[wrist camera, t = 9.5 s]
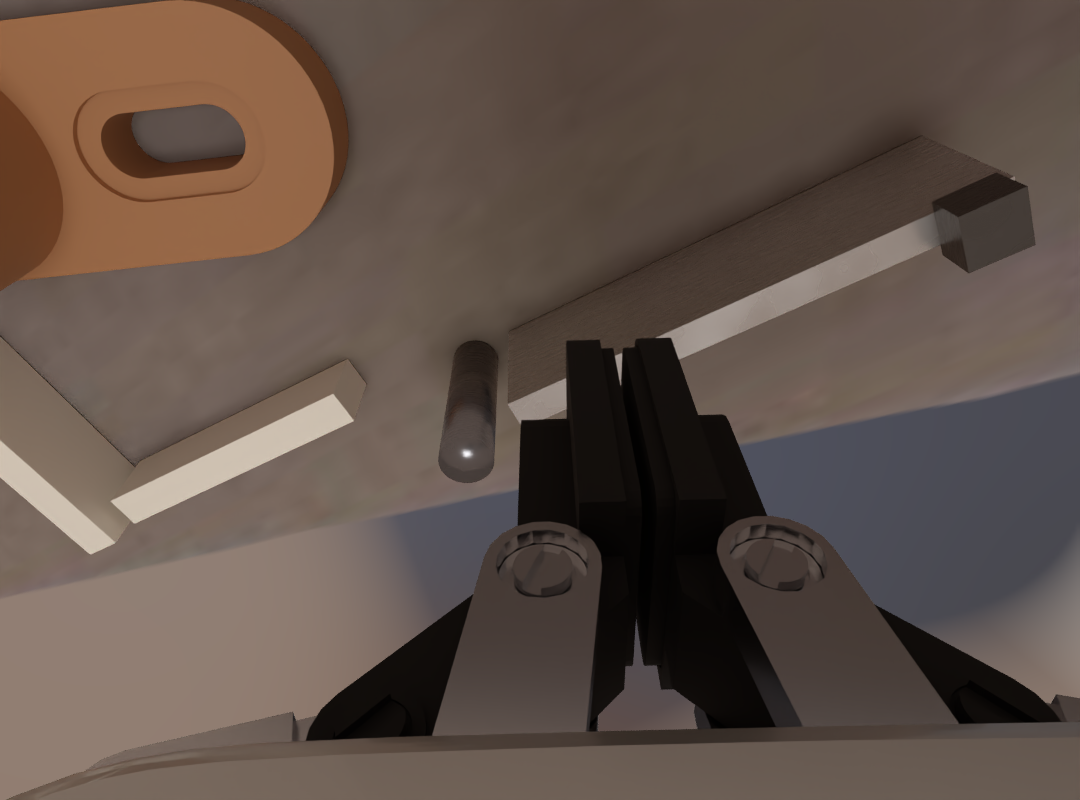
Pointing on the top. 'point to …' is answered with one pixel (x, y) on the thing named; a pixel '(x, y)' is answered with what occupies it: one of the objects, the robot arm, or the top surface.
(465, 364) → the hinge post
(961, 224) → the gate
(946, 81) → the top surface
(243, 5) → the bracket
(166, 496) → the white u-shaped frame
